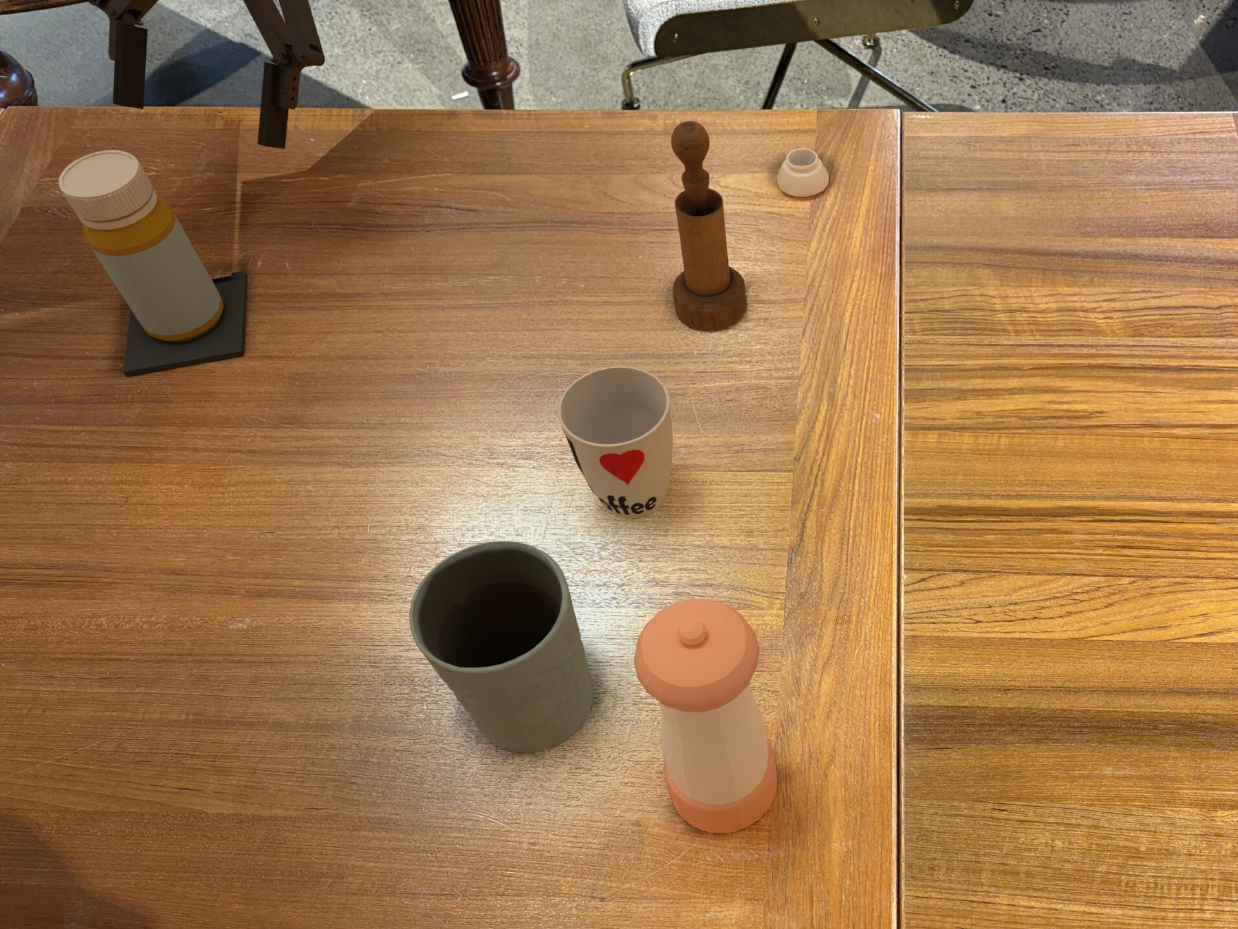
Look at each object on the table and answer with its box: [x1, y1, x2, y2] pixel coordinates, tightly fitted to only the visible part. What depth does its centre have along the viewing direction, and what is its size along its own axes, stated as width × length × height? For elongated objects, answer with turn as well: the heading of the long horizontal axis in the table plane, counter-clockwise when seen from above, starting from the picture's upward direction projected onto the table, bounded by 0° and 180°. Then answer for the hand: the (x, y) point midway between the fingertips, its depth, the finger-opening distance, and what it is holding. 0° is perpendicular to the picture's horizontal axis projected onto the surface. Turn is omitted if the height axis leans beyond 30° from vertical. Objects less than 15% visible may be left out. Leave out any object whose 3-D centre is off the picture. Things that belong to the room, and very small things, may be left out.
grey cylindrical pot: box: [408, 540, 595, 753], centre depth 80 cm, size 10×10×12 cm
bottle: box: [58, 149, 223, 342], centre depth 101 cm, size 7×7×15 cm
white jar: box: [776, 147, 830, 198], centre depth 116 cm, size 5×3×5 cm
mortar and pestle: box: [670, 120, 748, 332], centre depth 100 cm, size 7×6×18 cm
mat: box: [122, 270, 248, 377], centre depth 107 cm, size 10×11×1 cm
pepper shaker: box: [633, 598, 778, 834], centre depth 73 cm, size 7×7×19 cm
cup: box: [557, 365, 674, 520], centre depth 91 cm, size 8×8×10 cm
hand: (199, 127), depth 102 cm, fingers open, 13 cm apart
